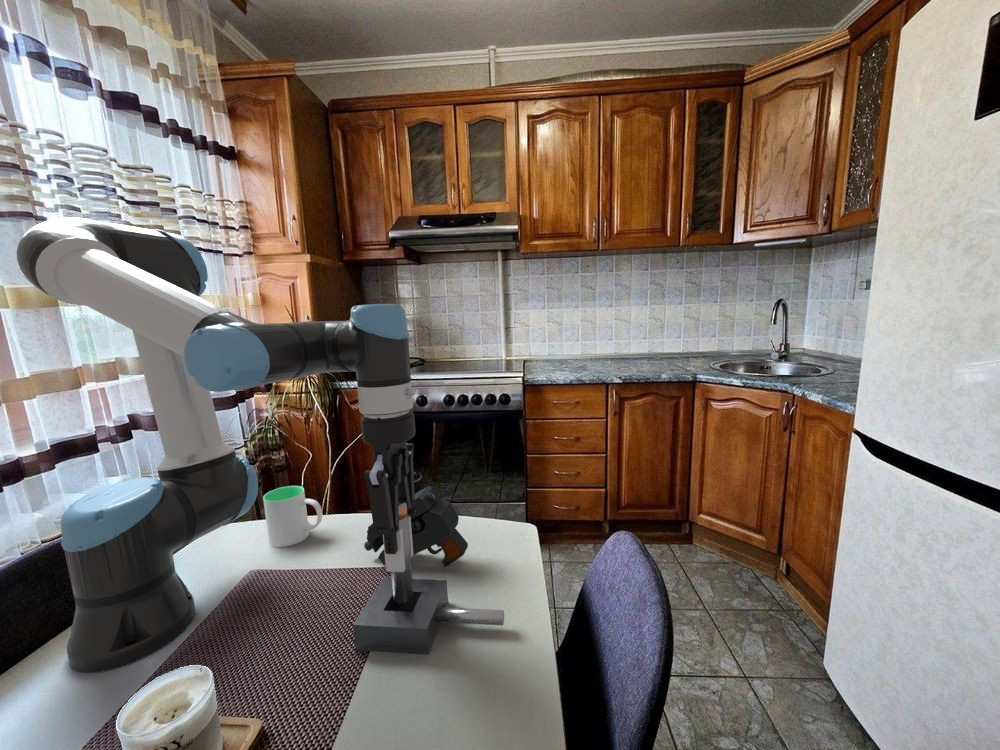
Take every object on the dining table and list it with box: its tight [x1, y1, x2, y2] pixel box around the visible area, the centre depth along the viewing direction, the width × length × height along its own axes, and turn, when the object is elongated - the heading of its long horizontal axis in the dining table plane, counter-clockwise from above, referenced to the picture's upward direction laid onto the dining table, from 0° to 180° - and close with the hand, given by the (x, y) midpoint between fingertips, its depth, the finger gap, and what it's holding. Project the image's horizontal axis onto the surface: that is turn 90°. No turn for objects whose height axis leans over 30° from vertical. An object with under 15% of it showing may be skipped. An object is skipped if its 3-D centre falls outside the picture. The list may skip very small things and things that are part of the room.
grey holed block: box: [352, 577, 505, 656], centre depth 65 cm, size 21×11×4 cm, turn 83°
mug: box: [262, 485, 323, 548], centre depth 94 cm, size 12×8×10 cm
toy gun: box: [363, 485, 469, 569], centre depth 83 cm, size 6×19×15 cm
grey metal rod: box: [390, 500, 413, 603], centre depth 64 cm, size 3×3×15 cm
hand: (400, 562), depth 64 cm, fingers closed on grey metal rod, 3 cm apart
